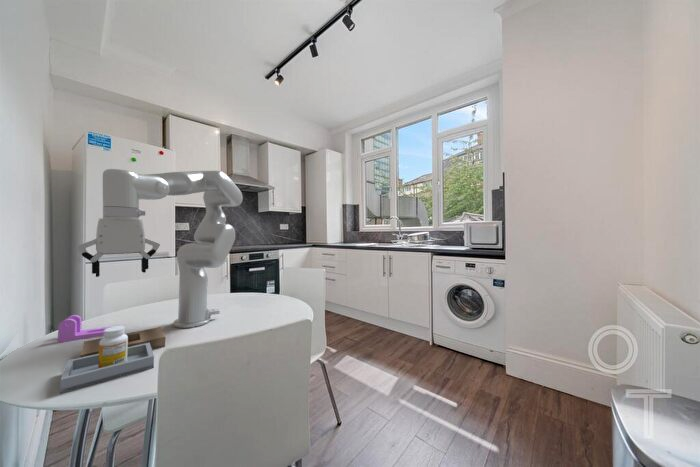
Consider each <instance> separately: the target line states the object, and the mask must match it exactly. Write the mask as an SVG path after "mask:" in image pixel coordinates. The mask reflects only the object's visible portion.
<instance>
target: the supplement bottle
mask: <svg viewBox="0 0 700 467" xmlns="http://www.w3.org/2000/svg"><path fill="white" fill-rule="evenodd" d="M109 327H110V328H107V329H105V330H104V335H103V336H102V338H103V339H101V340H100V342H99V361H98V368H102V367H106V366H110V365H114V364H118V363H123V362H127V351H128V336H127V335H126V333H125V331H126V328H125V326H124V325H116V326H109Z"/></svg>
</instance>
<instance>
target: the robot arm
mask: <svg viewBox="0 0 700 467" xmlns="http://www.w3.org/2000/svg"><path fill="white" fill-rule="evenodd" d="M197 193H199V194H200V193H203V195H202V196H203V197H202V198H203V202H204V206H205V215H204V217H203V218H202V220H201V222H200V223H199V225H198V227H197V228H196V230H195V232H194V235H193V238H194V241H195V243H193V242H191V243H185V244H184V245H181V246H180V247H179V248H178V251H177V254H176V260H177V266H178V271H179V283H178V286H179V287H178V315H177V316H178V317H177V318H176V319H175V320H174V321H173V322H172V325H173V327H174V328H180V329H184V328H185V329H186V328H187V329H188V328H195V326H196V327H200V326H202V325H206V324H208V323H210V322H211V318H212V317H211V316H212V315H213V316H214V315H219V314H220V309H219V308H218V309H212V308H211V309H208V308H207V307H208V306H207V305H208V273H207V272H206V270H205V268H206V269H207V268H208V269H209V268H210V269H214V268H215V269H216V268H219V267H221V266H222V265H223V264H224V263H225V262H226V260H227V259H228V258H227V257H228V255H229V253H230V252H231V250H232V247H233V245H234V243H235V240H236V230H235V228H234V227H233V225H231V224H229V223H227V216H226V214H225V212H224V211H223V209H222V207H230V208H231V207H232V208H233V207H238V206H240V205H241V204H242V203H243V199H244V198H243V193H242V191H241V190H240V188H239V187H238V186H237V185H236V184H235V182H234V181H233V180H232V179H231V178H230V176H228V174H226V173H225V172H223V171H222V170H192V171H191V170H189V171H188V170H187V171H171V172H162V173H161V172H160V173H147V174H145V173H144V174H141V173H136V172H134V171H131V170H127V169H126V170H125V169H121V168H120V169H118V168H109V169H108V168H107V169H104V171H103V172H102V218H98V221H97V227H96V234H95V239H92V240H90V241H89V240H88V241H86V242H84V243H81V244H79V245H77V246H76V247H75V248H76V250H77V251H78V252H79V253H80V255H81V256H82V257H83V258H85V259H86V260H88V261H90V262H91V275H93V274H95V277H96V278H98V277H100V276H101V275H100V269H101V268H100V267H101V266H100V261H99V259H101V257H103V256H104V255H107V256H108V255H109V256H110V255H128V254H139V255H141V256H142V258H141V262H140V264H141V267H140V268H141V272H142V273H146V272H147V270H149V259H150V258H151V257H152V256H153V255H155V254H156V253H157V251H158V249H159V248H160V247H161V244H160V243H158V242H156V241H153V240H150V239H148V238H145V235H146V234H145V230H144V222H143V219H140V217H145V216H146V211H145V210H140V206H139V205H140V201H139V200H146V201H147V200H149V201H151V200H152V201H153V200H155V201H156V200H162V199H164V198H166V197H167V196H185V195H191V194H197ZM146 244H148V245H149V246H152V248H151V249H150V250H149V251H148V252H146V251H145V248H146ZM92 246H95V250H96V253H95V254H94V255H93V254H91V253H89V252H88V250H86V249H87V248H89V247H92Z"/></svg>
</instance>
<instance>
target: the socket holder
mask: <svg viewBox="0 0 700 467" xmlns="http://www.w3.org/2000/svg"><path fill="white" fill-rule="evenodd" d="M125 334H126V335H127V336H128V347H132V346H136V345H141V344H145V343H150V345H151V348H152V350H155V349H159V347H160V348H164V347H166V335H165V334H164V331H163V329H162V327H161V326H159V327H153V328H149V329H143V330H138V331H132V332H127V333H125ZM103 338H104V337H102V338H101V337H100V338H96V339H91V340H84V341H83V345H82V348H81V351H80V354H79V355H80V357H79V358H82V357H86V356H91V355H95V354H99V342H100V340H101V339H103Z"/></svg>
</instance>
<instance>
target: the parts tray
mask: <svg viewBox="0 0 700 467" xmlns="http://www.w3.org/2000/svg"><path fill="white" fill-rule="evenodd" d="M153 352H154V351H153V349H152V348H151V345H150V343H145V344H141V345H136V346H132V347H128V351H127V362H123V363H118V364H114V365H110V366H106V367H102V368H98V361H99V354H95V355H91V356H86V357H82V358H80V357H78V358H74V359H69V360H67V362H66V364H65V367H64V370H63V372H62V375H61V378H60V388H59V390H60V391H59V394H64V393H67V392H71V391H74V390H77V389H82V388H84V387H85V388H86V387H89V386H91V385H96V384H99V383H102V382H107V381H110V380H111V381H112V380H114V379H117V378H120V377H121V378H122V377H125V376H128V375H132V374H135V373H139V372H143V371H148V370H150V369H153V368H154V364H155V355H154V353H153ZM63 392H64V393H63Z"/></svg>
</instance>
